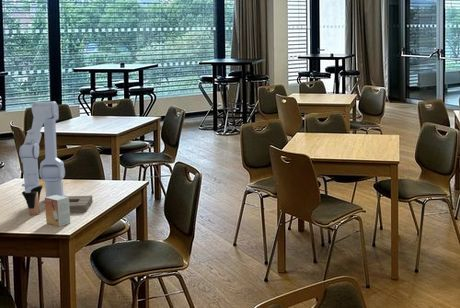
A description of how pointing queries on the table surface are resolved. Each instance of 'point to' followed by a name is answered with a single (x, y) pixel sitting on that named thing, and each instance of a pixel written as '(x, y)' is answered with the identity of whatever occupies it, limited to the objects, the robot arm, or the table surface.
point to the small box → (57, 210)
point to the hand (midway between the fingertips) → (33, 205)
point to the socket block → (79, 203)
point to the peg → (36, 208)
